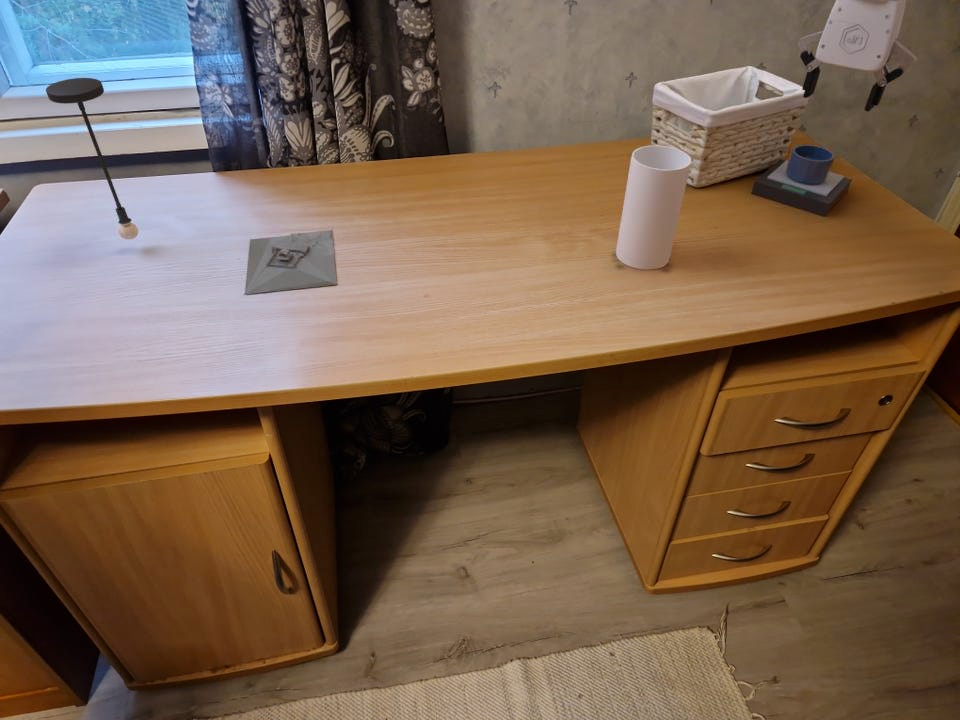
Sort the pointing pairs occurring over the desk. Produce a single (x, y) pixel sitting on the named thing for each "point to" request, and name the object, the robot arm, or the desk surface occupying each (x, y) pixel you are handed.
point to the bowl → (809, 164)
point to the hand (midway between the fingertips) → (837, 102)
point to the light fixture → (91, 132)
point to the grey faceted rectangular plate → (290, 262)
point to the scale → (801, 190)
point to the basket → (727, 121)
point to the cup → (652, 206)
